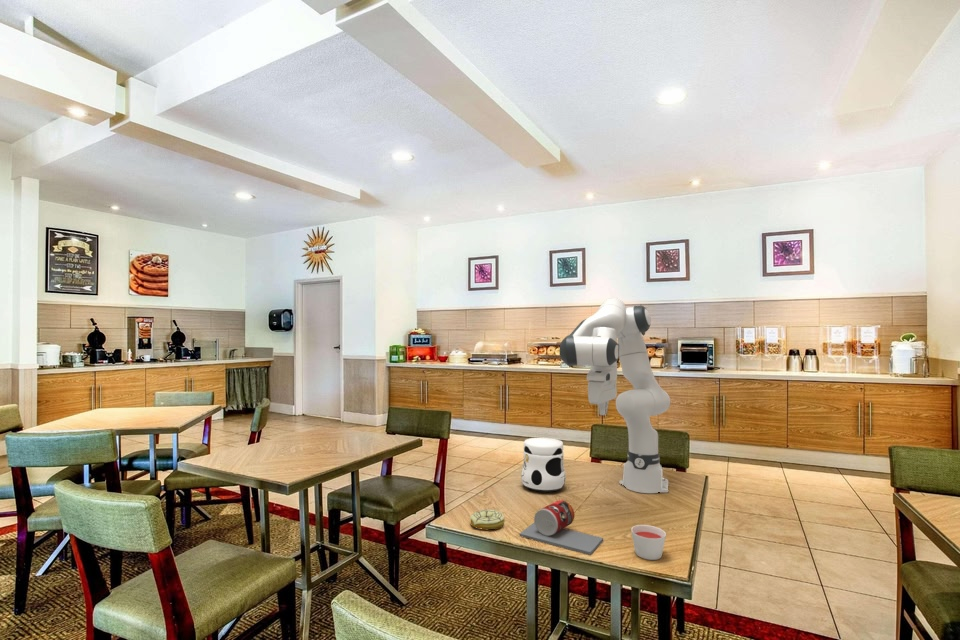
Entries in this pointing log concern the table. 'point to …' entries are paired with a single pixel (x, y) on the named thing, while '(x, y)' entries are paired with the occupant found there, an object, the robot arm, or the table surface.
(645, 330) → the robot arm
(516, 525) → the table surface
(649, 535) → the candle
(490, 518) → the decorated donut
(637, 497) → the table surface
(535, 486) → the milk container
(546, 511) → the canned food
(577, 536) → the mat
